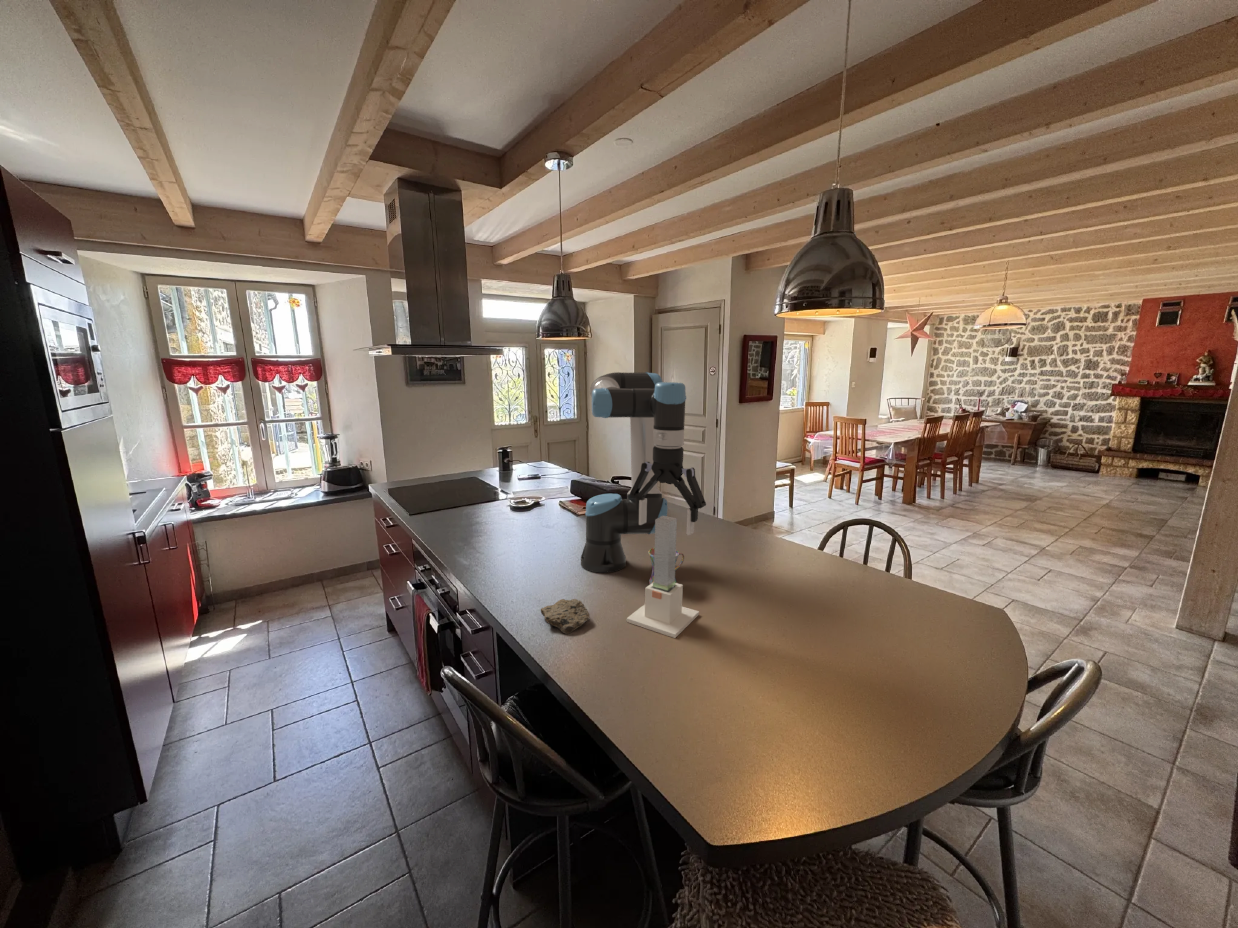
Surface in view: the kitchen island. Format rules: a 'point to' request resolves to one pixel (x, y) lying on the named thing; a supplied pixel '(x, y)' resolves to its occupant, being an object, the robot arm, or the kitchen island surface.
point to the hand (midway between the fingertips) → (665, 528)
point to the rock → (566, 614)
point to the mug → (651, 554)
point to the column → (665, 553)
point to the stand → (663, 612)
